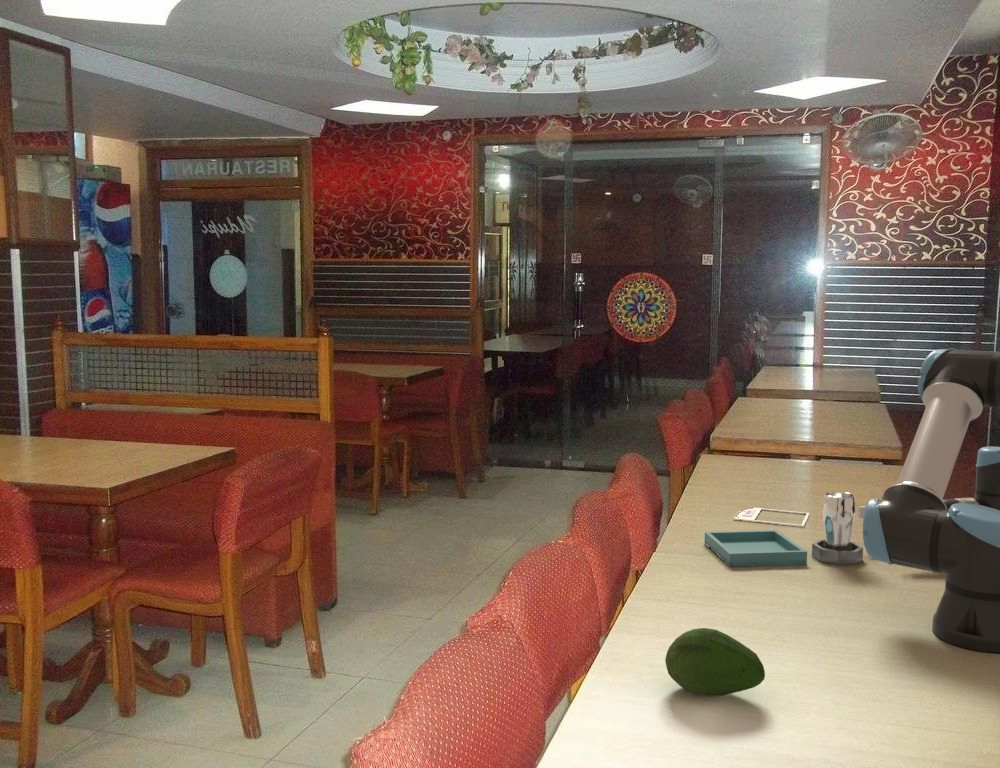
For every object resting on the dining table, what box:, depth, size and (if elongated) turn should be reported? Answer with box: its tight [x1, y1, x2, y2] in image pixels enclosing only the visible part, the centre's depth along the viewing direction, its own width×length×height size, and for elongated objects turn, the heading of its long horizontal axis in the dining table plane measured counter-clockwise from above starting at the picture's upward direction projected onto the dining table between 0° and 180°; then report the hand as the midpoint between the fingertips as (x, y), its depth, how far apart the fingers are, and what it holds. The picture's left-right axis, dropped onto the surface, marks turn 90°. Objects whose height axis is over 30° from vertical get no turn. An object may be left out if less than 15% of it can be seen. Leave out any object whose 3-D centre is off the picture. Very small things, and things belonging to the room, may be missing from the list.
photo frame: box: [733, 507, 810, 529], centre depth 252 cm, size 15×1×18 cm
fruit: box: [664, 627, 766, 697], centre depth 145 cm, size 15×10×10 cm, turn 65°
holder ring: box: [811, 538, 864, 566], centre depth 216 cm, size 10×10×3 cm
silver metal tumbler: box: [822, 491, 856, 551], centre depth 215 cm, size 7×7×15 cm
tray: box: [704, 529, 808, 567], centre depth 219 cm, size 18×18×3 cm
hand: (875, 519), depth 217 cm, fingers open, 13 cm apart
